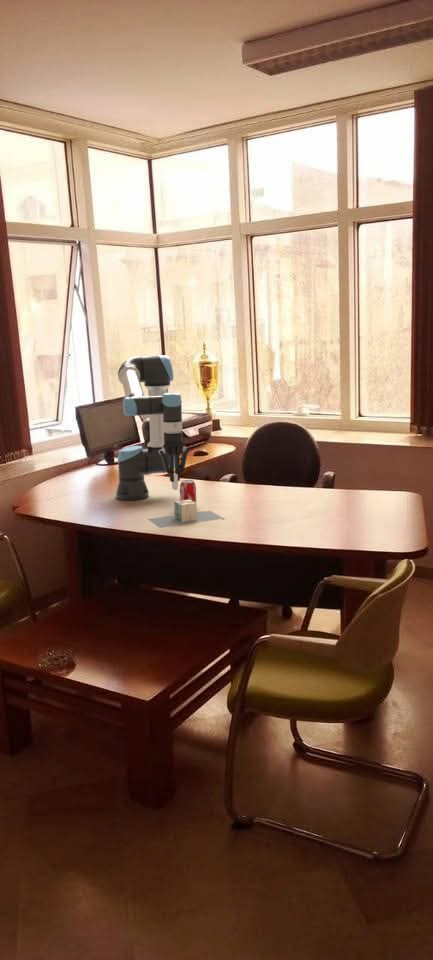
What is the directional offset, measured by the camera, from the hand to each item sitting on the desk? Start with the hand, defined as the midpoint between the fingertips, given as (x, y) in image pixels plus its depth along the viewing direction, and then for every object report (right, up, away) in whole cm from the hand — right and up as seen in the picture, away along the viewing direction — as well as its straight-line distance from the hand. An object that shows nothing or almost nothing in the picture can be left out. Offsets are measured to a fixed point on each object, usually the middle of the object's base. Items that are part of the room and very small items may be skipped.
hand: (175, 489), depth 313 cm
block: (+1, -9, +2) cm, 10 cm away
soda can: (+5, -9, +22) cm, 24 cm away
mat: (+4, -13, +4) cm, 14 cm away
